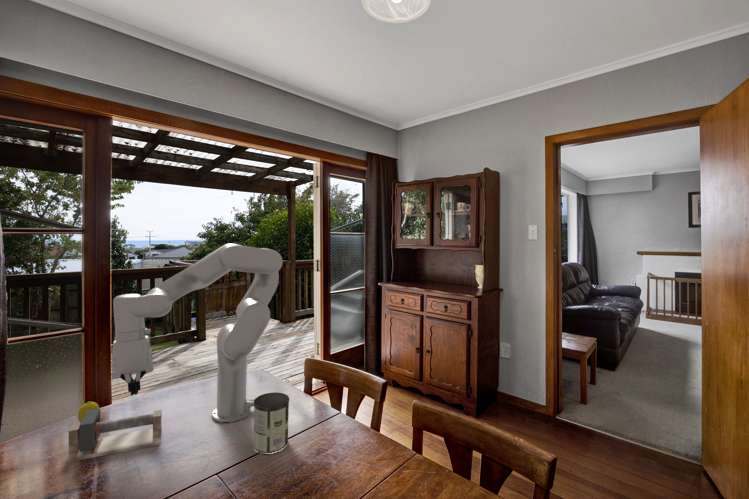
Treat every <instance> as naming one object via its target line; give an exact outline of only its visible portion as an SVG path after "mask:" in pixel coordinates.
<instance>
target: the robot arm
mask: <svg viewBox="0 0 749 499" xmlns="http://www.w3.org/2000/svg"><path fill="white" fill-rule="evenodd" d="M283 262H284V261H283V258H282V255H281V254H280V253H279V252H278V251H276V250H274V249H271V248H267V247H261V248H260V247H253V246H245V245H241V244H237V243H234V242H232V243H230V242H229V243H226V244H224V245H222V246H220V247H218V248H217V249H215V250H213V251H212V252H210V253H209V254H207V255H206V256H204V257H203V258H201V259H199V260H198V261H196V262H195V263H192V264H191V265H190V266H188V267H186V268H184V269H183V270H181V271H180V272H178V273H176V274H174V275H173V276H171V277H169V278H167V279H166V280H164V281H163V282H161V283H159V284H158V285H156V286H155V287H153V288H152V289H150V290H149V291H148V292H147V293H146V294H145V295H142V294H139V293H125V294H121V295H119V294H118V295H117V296H115V297H114V298H113V300H112V301H113V302H112V304H113V318H114V328H115V329H114V331H115V332H114V333H115V340H113V342H112V352H111V371H112V375H111V378H112V379H121V380H123V381H124V382H125V383H126V384H127V390H128V393H130V396H134V395H138V393H139V391H141V379H142V378H143V377H144V376H145V375H146V374H150V373H153V371H154V365H153V350H152V344H151V339H150V336H149V335H147V334H151V333H152V332H151V331H152V330H151V328H147V327H146V323H145V322H146V321H145V320H146V319H145V318H161V317H164V316H166V315H167V314H169V313H170V311H171V310H172V307H173V303H174V302H176V301H177V300H179V299H180V298H182V297H183V296H186V295H187V294H189V293H192V292H193V291H197V290H201V289H204V288H207V287H209V286H210V285H212V284H213V283H215V282H216V281H218V280H219V279H220V278H222V277H223V276H225V275H226V274H228V273H230V272H231V271H234V272H235V271H236V272H242V273H250V274H251V273H252V274H254V277H253V281H252V282H251V284H250V286H249V288H248V289H247V291H246V293H245V295H244V296H242V299H241V301H240V302H239V303H238V305H237V306H236V310H235V313H236V314H235V315H236V318H237V321H236V323H228V324H226V325H224V326H222V328H221V329H219V330H218V333H217V337H216V354H217V372H216V373H217V374H216V375H217V376H216V377H217V379H216V380H217V381H216V382H217V384H216V408H214V409H213V410H212V411H211V418H212V420H213V421H216V422H217V421H218V423H222V422H229V423H235V422H238V420H239V421H241V420H243V418H244V419H246V418H247V417H248V416H249V415H250V413H251V410H252V408H254V400H255V399H256V397H255V398H251V399H249V398H248V397H247V374H248V373H247V372H248V370H247V369H248V366H247V365H248V358H247V357H248V356H249V355H250V354H251V353H252V352H253V350H254V349H255V347H256V345H257V343H258V342H259V340H260V339H261V337H262V336H263V333H264V332H265V330H266V329H267V327H268V325H269V323H270V320H271V310H270V308H269V306H268V305H269V304H270V302H271V301H272V298H273V296H274V295H275V292H276V290H277V288H278V286H279V280H280V276H279V274H280V273H279V271H280V270H281V268H282V266H283ZM133 373H135V377H133V375H132V374H133ZM251 407H252V408H251ZM234 421H235V422H234Z"/></svg>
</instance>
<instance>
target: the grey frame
mask: <svg viewBox="0 0 749 499" xmlns="http://www.w3.org/2000/svg"><path fill="white" fill-rule="evenodd" d="M97 422H101V408H99V409H94V410H88V411H87V413H86V415H85V416H84V418H83V420H82V422H81V424H80V452H84V451H89V450H93V449H94V447H95V444H96V442H97V440H98V438H100V435H101V433H100V434H96V435H94V425H95V423H97Z"/></svg>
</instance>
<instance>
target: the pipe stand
mask: <svg viewBox="0 0 749 499" xmlns="http://www.w3.org/2000/svg"><path fill="white" fill-rule="evenodd" d="M80 424H81V423H80V422H77V423H72V425H71V427H70V429H69V430H68V456H67V457H66V459H65V463H73V462H77V461H81V460H86V459H91V458H97V457H102V456H107V455H113V454H117V453H122V452H127V451H133V450H137V449H142V448H143V449H144V448H147V447H153V446H154V447H155V446H159V445H160V444H161V438H162V432H163V427H162V409H159V410H153V413H150V414H143V415H136V416H130V417H125V418H119V419H118V418H117V419H112V420H107V421H100V422H97V423H95V425H94V435H96V434H100V435H101V434H105V433H110V432H117V431H122V430H127V429H133V428H139V427H145V426H149V425H152V428H148V429H143V430H136V431H131V432H126V433H121V434H120V433H119V434H114V435H108V436H103V437H99V438H98V440H97V442H96V444H95V447H94V449H93V450H89V451H84V452H80Z"/></svg>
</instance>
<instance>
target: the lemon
mask: <svg viewBox="0 0 749 499" xmlns="http://www.w3.org/2000/svg"><path fill="white" fill-rule="evenodd" d="M94 409H100V406H99V404H98V403H96V402H95V401H87V402H86V403H84V404H82V405H81V407H80V408H79V410H78V414H77V419H78V423H81V422H82V420H83V418H84V416H85V415H86V413H87V411H88V410H94Z"/></svg>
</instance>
